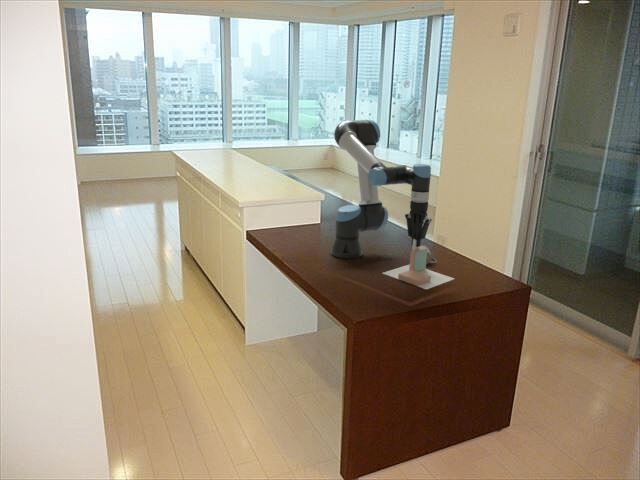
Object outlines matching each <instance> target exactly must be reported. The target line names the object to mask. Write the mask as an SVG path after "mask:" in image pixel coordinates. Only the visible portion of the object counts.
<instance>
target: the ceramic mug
mask: <svg viewBox="0 0 640 480" xmlns="http://www.w3.org/2000/svg"><path fill="white" fill-rule="evenodd" d="M423 247H424V248H427V259H426V265H428V264H437V263H438V260H437V259H436V258H434V257H433V256H432V253H431V250H430V249H429V248H428V246H425V245H420V247H419V248H423Z"/></svg>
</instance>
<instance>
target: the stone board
mask: <svg viewBox="0 0 640 480" xmlns="http://www.w3.org/2000/svg"><path fill="white" fill-rule="evenodd" d="M409 265H410V263H409V264H407V265H403V266H400V267H397V268H394V269H391V270H387V271H385V272H382V274H383V275H385V276H389V277H391V278H393V279H397V280H400V279H398V275H399V274H400V273H403V272H406V271H409ZM420 272H421V273H424V274H427V275H430V276H431V279H430V281H429V282H426V283H423V284H420V285H414V284H411V283H408V282H406V281H403V280H400V281H403V283H404V282H405V283H408V284H410V285H413V286H415V287H419V288H422V289H424V290H429V289H432V288H434V287H436V286H441V285H442V284H445V283H448V282H451V281H453V280H455V278H454V277H451V276H448V275H445V274H442V273H439V272H436V271H433V270H430V269H427V268H426V270H423V271H420Z"/></svg>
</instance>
